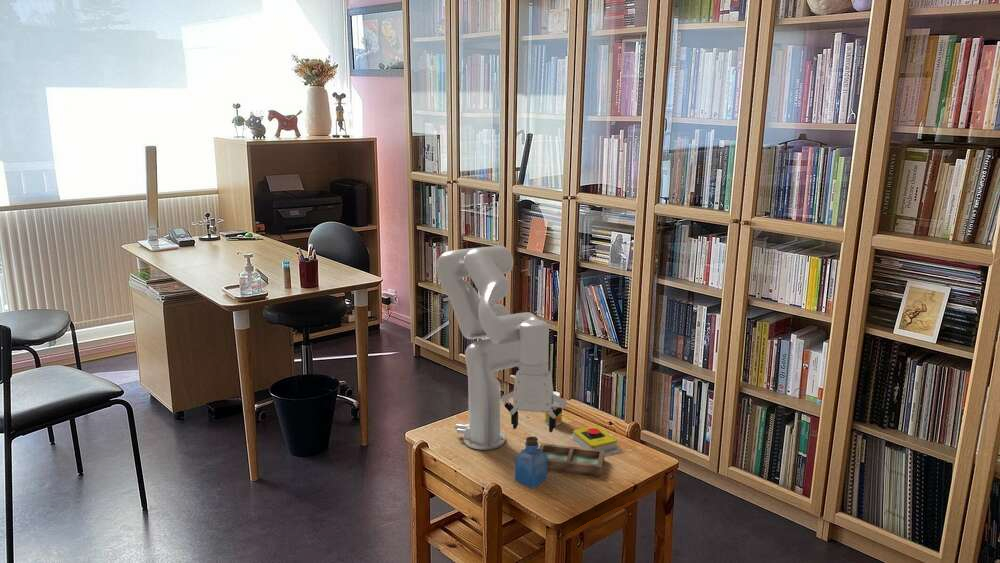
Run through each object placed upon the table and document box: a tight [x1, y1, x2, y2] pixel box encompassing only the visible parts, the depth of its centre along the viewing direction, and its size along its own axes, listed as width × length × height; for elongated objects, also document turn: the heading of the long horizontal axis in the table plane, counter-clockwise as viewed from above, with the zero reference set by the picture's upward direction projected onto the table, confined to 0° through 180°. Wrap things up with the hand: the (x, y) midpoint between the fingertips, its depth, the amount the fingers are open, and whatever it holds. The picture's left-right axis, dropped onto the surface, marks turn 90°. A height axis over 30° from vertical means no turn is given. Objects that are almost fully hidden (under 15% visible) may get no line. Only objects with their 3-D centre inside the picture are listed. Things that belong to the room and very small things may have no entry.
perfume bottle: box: [514, 436, 548, 489], centre depth 194 cm, size 6×6×12 cm
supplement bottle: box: [544, 391, 563, 426], centre depth 229 cm, size 5×5×10 cm
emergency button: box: [570, 425, 622, 457], centre depth 215 cm, size 9×4×15 cm
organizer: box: [538, 442, 605, 478], centre depth 203 cm, size 18×10×3 cm, turn 77°
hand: (533, 428), depth 191 cm, fingers open, 9 cm apart
